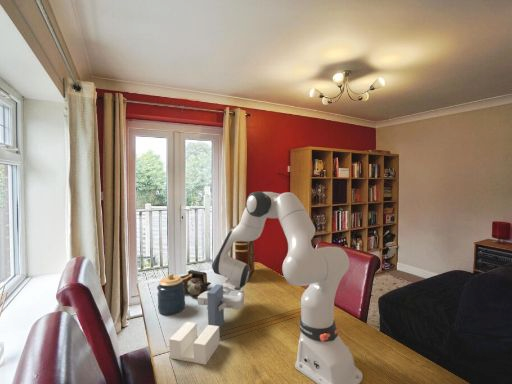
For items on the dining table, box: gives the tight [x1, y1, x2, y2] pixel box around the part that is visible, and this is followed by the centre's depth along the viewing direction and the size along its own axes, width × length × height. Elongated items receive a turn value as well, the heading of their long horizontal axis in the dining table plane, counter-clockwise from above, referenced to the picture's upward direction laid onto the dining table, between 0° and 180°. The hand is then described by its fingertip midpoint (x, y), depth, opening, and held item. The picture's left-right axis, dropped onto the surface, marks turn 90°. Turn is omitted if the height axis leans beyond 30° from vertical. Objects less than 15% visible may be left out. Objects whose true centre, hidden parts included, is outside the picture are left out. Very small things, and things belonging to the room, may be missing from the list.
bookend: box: [179, 269, 212, 298], centre depth 151 cm, size 15×11×25 cm
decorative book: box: [234, 240, 255, 283], centre depth 175 cm, size 22×8×30 cm, turn 168°
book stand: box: [169, 321, 221, 366], centre depth 100 cm, size 14×12×7 cm
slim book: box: [207, 284, 225, 328], centre depth 113 cm, size 3×9×16 cm, turn 164°
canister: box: [156, 273, 186, 316], centre depth 133 cm, size 13×13×18 cm
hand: (213, 308), depth 110 cm, fingers closed on slim book, 3 cm apart
